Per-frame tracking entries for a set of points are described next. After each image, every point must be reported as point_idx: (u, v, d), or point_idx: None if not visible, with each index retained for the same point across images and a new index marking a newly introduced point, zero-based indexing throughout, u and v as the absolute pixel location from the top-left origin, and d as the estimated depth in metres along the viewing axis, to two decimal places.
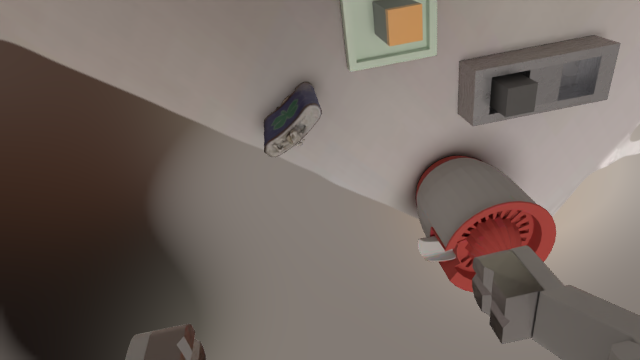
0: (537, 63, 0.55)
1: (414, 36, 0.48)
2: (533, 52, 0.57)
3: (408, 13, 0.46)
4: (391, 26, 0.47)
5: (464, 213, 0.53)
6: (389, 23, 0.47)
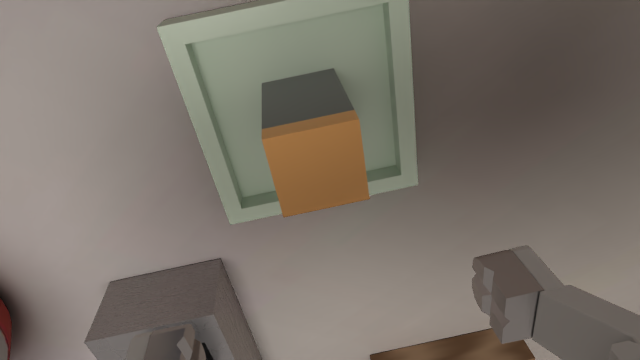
0: None
1: (291, 197, 0.18)
2: None
3: (349, 172, 0.18)
4: (316, 135, 0.17)
5: None
6: (326, 129, 0.17)
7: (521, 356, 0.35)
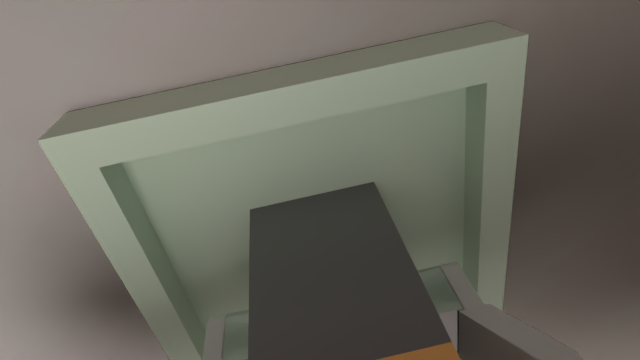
0: None
1: None
2: None
3: None
4: None
5: None
6: None
7: None
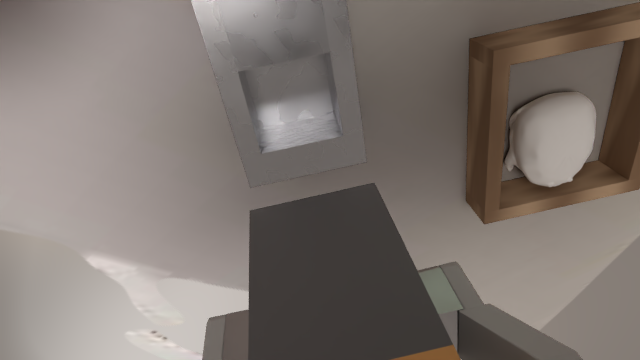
0: None
1: None
2: None
3: None
4: None
5: None
6: None
7: None
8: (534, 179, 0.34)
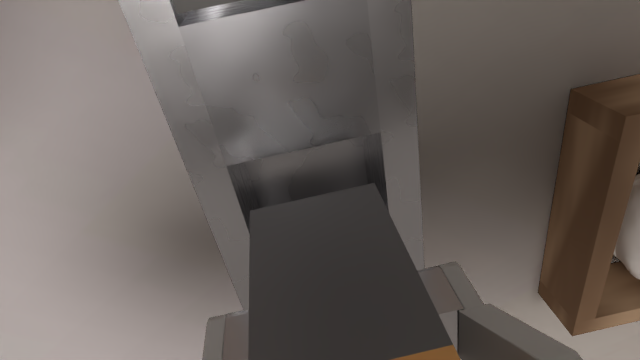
0: (393, 13, 0.12)
1: None
2: None
3: None
4: None
5: None
6: None
7: None
8: None
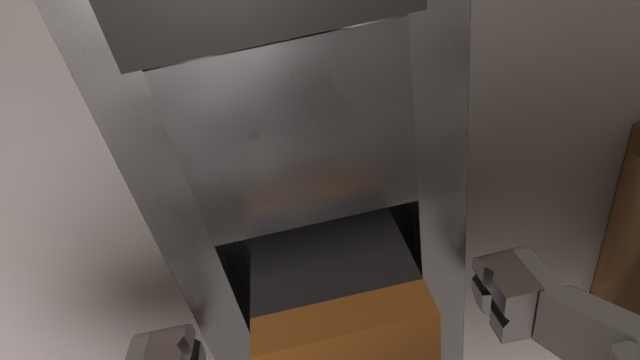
0: (444, 50, 0.09)
1: None
2: None
3: None
4: (357, 343, 0.09)
5: None
6: (376, 333, 0.08)
7: None
8: None
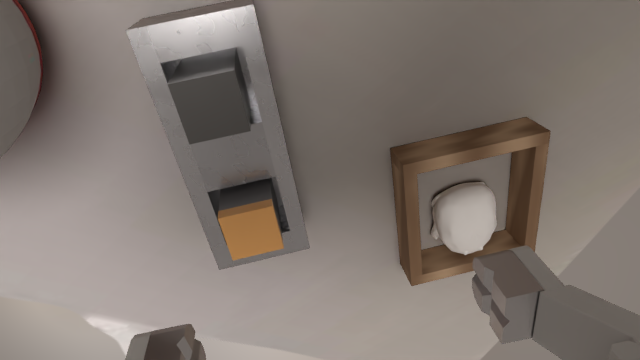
0: (274, 130, 0.30)
1: (237, 248, 0.31)
2: None
3: (270, 234, 0.31)
4: (249, 215, 0.30)
5: None
6: (254, 211, 0.30)
7: (537, 131, 0.36)
8: (452, 249, 0.42)
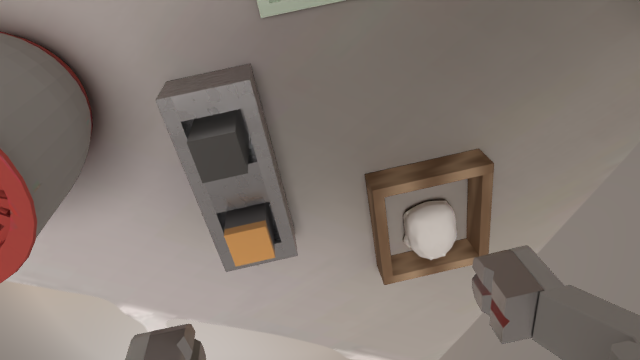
0: (267, 168, 0.39)
1: (239, 257, 0.40)
2: (274, 162, 0.42)
3: (264, 247, 0.40)
4: (247, 233, 0.39)
5: None
6: (251, 230, 0.39)
7: (483, 163, 0.44)
8: (420, 255, 0.51)
